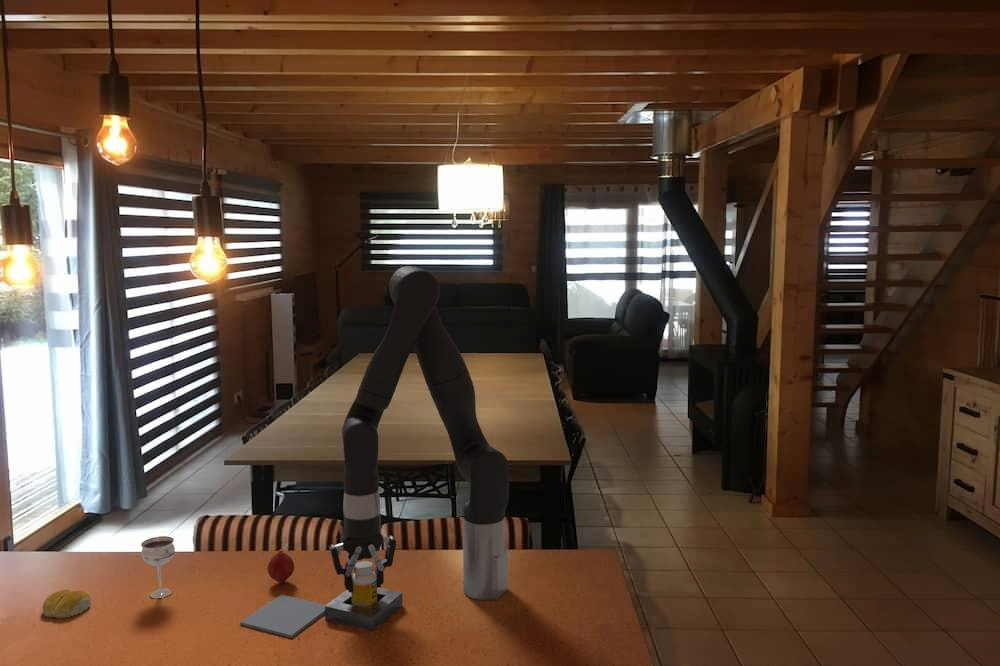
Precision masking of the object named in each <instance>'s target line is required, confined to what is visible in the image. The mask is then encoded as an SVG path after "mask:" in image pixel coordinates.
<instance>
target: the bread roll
mask: <svg viewBox="0 0 1000 666" xmlns="http://www.w3.org/2000/svg"><path fill="white" fill-rule="evenodd" d="M91 601H92V599H91V596H90V594H88V593H87V592H84V591H82V590H70V589H61V590H58V591H55V592H53V593H51V594H50V595H48V596H47V597H46V598H45V599H44V601H43V605H42V613H43V615H44V616H45V617H46V618H47V617H48V618H56V619H66V618H65V617H68V618H71V617H70V616H72V617H75V616H77V614H78V615H79V613H80V614H82V613H83V612H85V611H86V610H88V609H89V608H88V607H90V606H91ZM84 610H85V611H84ZM82 611H83V612H82ZM74 615H75V616H74Z"/></svg>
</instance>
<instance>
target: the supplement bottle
mask: <svg viewBox="0 0 1000 666" xmlns="http://www.w3.org/2000/svg"><path fill="white" fill-rule="evenodd" d="M351 575H352V588H353V592H351V594H352V605H353V606H357V607H361V608H366V609H370V608H371V607H372V606H374V605H375V604H376V603H377V576H376V574H375V568H374V563H373V562H371V561H365V560H364V561H363V560H361V561H359V562H356V565H355V566H354V568H353V574H351Z"/></svg>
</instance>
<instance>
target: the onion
mask: <svg viewBox="0 0 1000 666" xmlns="http://www.w3.org/2000/svg"><path fill="white" fill-rule="evenodd" d="M294 571H295V563H294V561H293V558H292V557H291V556H290V555H288V553H285V552H284V550H283V549H279V550H278V551H277V553H275V554H274V555H273V556H272V557H271V559H270V561H269V562H268V564H267V572H268V575H269V577H270V578H271V579H272V580H273V581H276V582H277V583H279V584H284V583H285V582H286V581H287V580H288V579H289V578H290V577H291V576H292V575H293V573H294Z"/></svg>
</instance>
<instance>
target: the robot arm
mask: <svg viewBox="0 0 1000 666" xmlns="http://www.w3.org/2000/svg"><path fill="white" fill-rule="evenodd" d="M388 285H389V287H388V290H389V295H390V299H391V301H392V302H393V304H394V308H393V312H392V316H391V319H390V323H389V325H388V327H387V330H386V332H385V335H384V336H383V338H382V340H381V341H380V343H379V345H378V346H377V348H376V349H375V351H374V353H373V355H372V356H371V359H370V360H369V362H368V364H367V366H366V369H365V371H364V374H363V376H362V379H361V382H360V384H359V388H358V390H357V394H356V397H355V399H354V401H353V402H352V403H351V405H350V408H349V409H348V411H347V414H346V417H345V419H344V421H343V422H344V423H343V424H342V429H341V435H342V442H343V443H342V444H343V457H344V470H343V492H344V493H343V503H342V504H343V507H342V512H343V529H344V530H343V531H344V534H343V535H344V537H343V538H342V542H340V543H337V544H334V543H331V544H329V546H328V547H329V551H330V554H331V555H330V556H331V559H332V563H333V566H334V570H335V573H336V575H343V581H344V582H343V585H344V588H345V591H346V590H348V591H349V592H353V588H352V575H353V574H352V573H353V571H354V566H355V565H356V563H358V562H357V561H363V560H364V559H367V560H369V559H373V562H374V563H375V567H374V573H375V574H376V576H377V588H379V587H380V588H382V585H383V584H384V571H385V569H386V568H387V567H388V568H389V567H392V565H393V561H394V557H395V551H396V546H397V545H396V544H397V541H396V538H395V537H394V536H393V535H391V534H390V535H388V536H383V535H382V521H381V520H382V519H381V518H382V517H381V497H380V489H379V488H380V487H379V469H378V462H379V434H378V427H379V424H380V422H381V419H382V417H383V414H384V411H385V410H387V409H388V408H389V406H390V404H391V402H392V400H393V396H394V394H395V392H396V389H397V386H398V384H399V381H400V379H401V377H402V373H403V371H404V368H405V366H406V363H407V361H408V359H409V356H410V354H411V352H412V349H413V348H414V351H415V354H416V358H417V360H418V364H419V367H420V369H421V372H422V375H423V379H424V381H425V383H426V387H427V389H428V391H429V394H430V397H431V398H432V401H433V404H434V405H435V407H436V409H437V412H438V414H439V417H440V419H441V421H442V423H443V425H444V427H445V429H446V432H447V435H448V437H449V442H450V444H451V447H452V452H453V455H454V460H455V462H456V466H457V469H458V472H459V474H460V475H461V477H462V478H463V479H464V480H465V481H466V482H468V483H469V484H470V485H469V500H468V501H466V502H465V503H464V504H463V506H462V507H463V508H462V517H463V518H462V540H463V541H462V542H463V543H462V545H463V546H462V547H463V548H462V556H463V557H462V559H463V561H462V563H463V565H462V566H463V568H462V569H463V572H462V573H463V576H462V577H463V578H462V579H463V581H462V584H463V593H464V595H465V596H467V597H469V598H471V599H474V600H480V601H486V600H487V601H489V600H495V601H498V600H499V599H500V598H501V597H502V596H503V595H504V594H505V592H506V591H507V590H508V589H509V549H508V547H506V545H505V544H506V543H505V542H506V541H505V540H506V539H505V537H506V536H505V535H506V534H505V533H506V530H505V529H506V527H505V526H506V525H505V524H506V523H505V521H506V509H507V507H508V505H509V497H510V495H509V494H510V475H511V474H510V465H509V462H508V459H507V457H506V455H505V454H504V453H503V452H501V451H500V450H498V449H496V448H495V447H493V446H491V445H490V444H489V442H488V440H487V439H486V437H485V435H484V433H483V431H482V427H480V426H481V425H480V423H479V421H478V417H477V411H476V408H477V407H476V392H475V391H476V390H475V387H474V384H473V380H472V376H471V375H470V371H469V369H468V367H467V364H466V361H465V359H464V358H463V356H462V354H461V351H460V350H459V349H458V347H457V345H456V344H455V342H454V340H453V339H452V337H451V336H450V334H449V332H448V330H447V329H446V327H445V325H444V324H443V322H442V321H443V320H442V318H441V317H440V316H441V315H440V313H439V310H438V308H437V306H438V305H437V303H438V302H439V299H440V295H441V287H440V282H438V279H437V278H436V276H435V275H434V274H432V273H431V272H430V271H428V270H426V269H423V268H420V267H418V266H413V265H405V266H402V267H400V268H398V269H397V270H396V271H394V273H393V274H392V276H391V278H390V280H389V284H388ZM382 544H383V545H384V546H385V553H384V559H382V560H381V558H380V556H379V554H378V551H379V549H380V548H381V547H382ZM342 550H345V551H346V552H347V556H346V561H345V564H344V566H343V565H341V560H340V556H341V554H342Z"/></svg>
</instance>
